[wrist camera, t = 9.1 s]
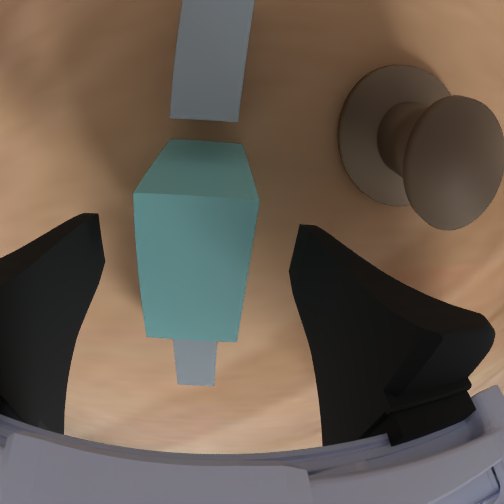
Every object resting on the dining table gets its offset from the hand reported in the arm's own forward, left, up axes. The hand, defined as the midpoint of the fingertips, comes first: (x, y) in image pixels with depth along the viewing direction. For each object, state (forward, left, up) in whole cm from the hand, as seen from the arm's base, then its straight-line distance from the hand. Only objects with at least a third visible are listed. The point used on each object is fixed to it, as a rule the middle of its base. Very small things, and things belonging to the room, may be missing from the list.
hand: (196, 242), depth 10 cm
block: (0, 0, -3) cm, 4 cm away
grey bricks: (0, 0, -3) cm, 3 cm away
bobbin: (+4, -9, -3) cm, 11 cm away
